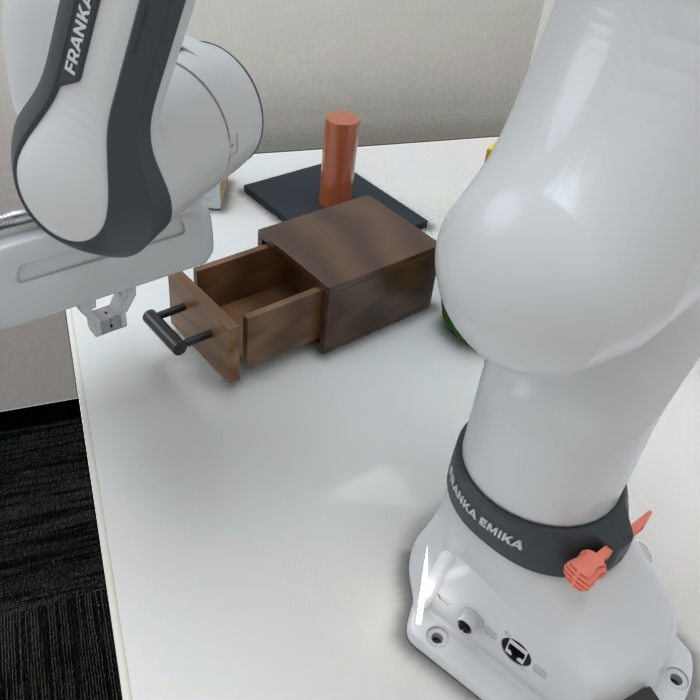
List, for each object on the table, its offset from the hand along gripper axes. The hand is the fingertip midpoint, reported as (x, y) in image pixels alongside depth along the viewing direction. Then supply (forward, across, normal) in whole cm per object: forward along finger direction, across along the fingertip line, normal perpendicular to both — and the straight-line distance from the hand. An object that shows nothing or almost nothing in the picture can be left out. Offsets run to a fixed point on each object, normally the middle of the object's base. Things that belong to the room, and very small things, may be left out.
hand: (108, 328), depth 69 cm
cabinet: (+8, +28, 0) cm, 29 cm away
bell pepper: (+8, +37, -12) cm, 40 cm away
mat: (+8, +40, +17) cm, 44 cm away
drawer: (+7, +14, 0) cm, 16 cm away
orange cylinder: (+7, +40, +17) cm, 44 cm away
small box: (+8, +27, +29) cm, 40 cm away
